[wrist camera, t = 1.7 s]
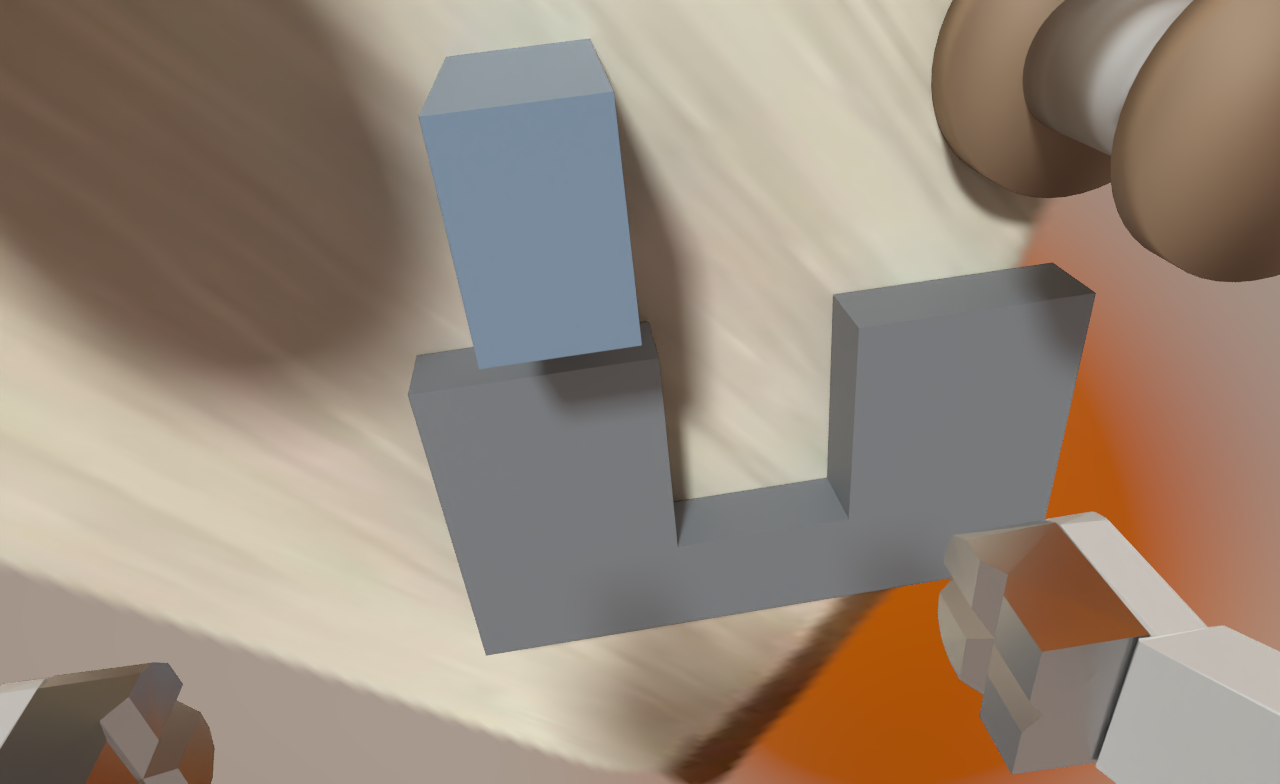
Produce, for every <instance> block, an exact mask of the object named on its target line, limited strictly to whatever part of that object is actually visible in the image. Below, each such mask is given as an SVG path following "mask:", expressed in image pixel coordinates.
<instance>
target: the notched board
mask: <svg viewBox="0 0 1280 784" xmlns="http://www.w3.org/2000/svg"><path fill="white" fill-rule="evenodd" d="M1095 294H1096V293H1095V292H1093V291H1092V290H1091V289H1089V288H1088V287H1086V286H1085V285H1083V284H1082V283H1081V282H1079V281H1078V280H1076V279H1075V278H1073V277H1072V276H1071V275H1069V274H1068V273H1067V272H1065V271H1064V270H1062V269H1061V268H1059V267H1058V266H1057V265H1055V264H1054V263H1047V264H1040V265H1034V266H1027V267H1020V268H1013V269H1006V270H999V271H992V272H986V273H979V274H972V275H965V276H958V277H951V278H945V279H938V280H931V281H924V282H917V283H910V284H904V285H897V286H890V287H883V288H876V289H869V290H862V291H856V292H849V293H842V294H835V295H833V318H832V348H831V379H830V409H829V440H828V470H827V478H823V479H817V480H811V481H804V482H798V483H792V484H786V485H779V486H773V487H767V488H760V489H754V490H748V491H741V492H735V493H729V494H722V495H716V496H710V497H703V498H697V499H691V500H684V501H678V502H673V494H672V484H671V474H670V464H669V454H668V444H667V434H666V424H665V413H664V403H663V393H662V383H661V373H660V363H659V356H658V353H657V349H656V346H655V343H654V339H653V336H652V332H651V329H650V326H649V322H643V323H639V324H640V333H641V342H642V345H641V346H634V347H628V348H621V349H614V350H607V351H600V352H594V353H587V354H580V355H573V356H566V357H560V358H553V359H546V360H539V361H532V362H526V363H519V364H512V365H505V366H498V367H492V368H485V369H479V367H478V363H477V359H476V354H475V350H474V347H472V348H466V349H459V350H452V351H445V352H438V353H431V354H424V355H418V356H417V357H416V362H415V366H414V371H413V375H412V380H411V384H410V389H409V393H408V397H409V400H410V404H411V407H412V410H413V414H414V417H415V420H416V424H417V427H418V430H419V433H420V437H421V440H422V443H423V447H424V450H425V453H426V457H427V460H428V463H429V467H430V470H431V473H432V477H433V480H434V483H435V487H436V490H437V493H438V497H439V500H440V503H441V507H442V510H443V513H444V517H445V520H446V523H447V527H448V530H449V533H450V537H451V540H452V543H453V547H454V550H455V553H456V557H457V560H458V563H459V567H460V570H461V573H462V577H463V580H464V583H465V587H466V590H467V593H468V597H469V600H470V603H471V607H472V610H473V613H474V617H475V620H476V623H477V627H478V630H479V633H480V637H481V640H482V643H483V647H484V650H485V653H486V655H492V654H498V653H504V652H510V651H516V650H522V649H528V648H534V647H540V646H546V645H552V644H558V643H564V642H570V641H576V640H582V639H588V638H595V637H601V636H607V635H613V634H619V633H625V632H631V631H637V630H643V629H649V628H655V627H661V626H667V625H673V624H679V623H685V622H691V621H697V620H703V619H709V618H715V617H721V616H727V615H733V614H739V613H745V612H751V611H757V610H763V609H769V608H775V607H781V606H787V605H793V604H799V603H805V602H811V601H817V600H823V599H829V598H835V597H841V596H847V595H853V594H859V593H865V592H871V591H877V590H883V589H889V588H895V587H901V586H907V585H913V584H920V583H925V582H932V581H938V580H943V579H950V578H953V577H952V575H951V574H950V572H949V570H948V569H947V567H946V565H945V564H944V558H945V551H946V545H947V543H948V542H949V540H950V539H951V537H952V535H956V534H961V533H967V532H973V531H979V530H985V529H991V528H997V527H1003V526H1009V525H1015V524H1021V523H1026V522H1032V521H1038V520H1040V521H1044V520H1045V517H1046V512H1047V508H1048V503H1049V499H1050V494H1051V490H1052V485H1053V481H1054V476H1055V472H1056V468H1057V463H1058V459H1059V454H1060V450H1061V445H1062V441H1063V436H1064V432H1065V427H1066V423H1067V418H1068V414H1069V410H1070V405H1071V401H1072V396H1073V392H1074V387H1075V383H1076V379H1077V374H1078V369H1079V365H1080V361H1081V356H1082V352H1083V347H1084V343H1085V339H1086V334H1087V329H1088V325H1089V321H1090V316H1091V312H1092V307H1093V302H1094V298H1095Z"/></svg>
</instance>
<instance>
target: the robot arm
mask: <svg viewBox="0 0 1280 784" xmlns="http://www.w3.org/2000/svg"><path fill="white" fill-rule="evenodd" d="M944 564H945V565H946V567H947V569H948V570H949V572H950V574H951V575H952V577H953V579H952V580H951V581H950V582H949V583H948V584H947V585H946V586H945V587H944V588H943V590H942V591H941V592H940V594H939V605H938V621H939V627H940V633H941V638H942V642H943V645H944V647H945V650H946V653H947V656H948V658H949V661H950V662H951V664H952V666H953V668H954V670H955V672H956V674H957V676H958V678H959V680H961V681H962V682H964V683H966V684H967V685H969V686H970V687H972V688H973V689H975V690H976V691H978V692H980V693H981V694H983V700H982V706H981V711H980V718H981V720H982V722H983V723H984V725H985V727H986V729H987V731H988V732H989V734H990V736H991V738H992V740H993V741H994V743H995V745H996V746H997V749H998V750H999V752H1000V754H1001V756H1002V758H1003V759H1004V761H1005V763H1006V765H1007V767H1008V768H1009V770H1010V772H1011V774H1019V773H1026V772H1033V771H1039V770H1047V769H1054V768H1061V767H1068V766H1075V765H1081V764H1089V763H1095V762H1097V764H1096V768H1097V769H1099V770H1100V771H1101V772H1102V773H1104V774H1105V775H1106V776H1108V777H1109V778H1110V779H1112V780H1113V781H1114V782H1115V783H1117V784H1280V652H1279V651H1277V650H1275V649H1273V648H1270V647H1268V646H1266V645H1264V644H1262V643H1260V642H1258V641H1256V640H1253V639H1251V638H1249V637H1247V636H1245V635H1243V634H1241V633H1238V632H1236V631H1235V630H1232V629H1230V628H1228V627H1226V626H1224V625H1221V626H1213V627H1207V626H1206V624H1205V623H1204V622H1203V621H1202V620H1201V619H1200V618H1199V617H1198V616H1197V615H1196V614H1195V613H1194V612H1193V610H1192V609H1191V608H1190V607H1189V606H1188V605H1187V604H1186V603H1185V602H1184V601H1183V600H1182V599H1181V598H1180V597H1179V595H1177V593H1176V592H1175V591H1174V590H1173V589H1172V588H1171V587H1170V586H1169V585H1168V584H1167V583H1166V582H1165V581H1164V580H1163V578H1162V577H1161V576H1160V575H1159V574H1158V573H1157V572H1156V571H1155V570H1154V569H1153V568H1152V567H1151V565H1149V563H1148V562H1147V561H1145V559H1144V558H1143V557H1142V556H1141V555H1140V554H1139V553H1138V552H1137V551H1136V549H1135V548H1134V547H1133V546H1132V545H1131V544H1130V543H1129V542H1128V541H1127V540H1126V539H1125V538H1124V537H1123V536H1122V534H1121V533H1120V532H1119V531H1118V530H1117V529H1116V528H1115V527H1114V526H1113V525H1112V524H1111V523H1110V522H1109V520H1108V519H1106V518H1105V517H1104V516H1102V515H1100V514H1098V513H1095V512H1093V511H1092V512H1087V513H1081V514H1075V515H1069V516H1063V517H1057V518H1051V519H1046V520H1044V521H1040V520H1038V521H1032V522H1026V523H1021V524H1015V525H1009V526H1003V527H997V528H991V529H985V530H979V531H973V532H967V533H961V534H956V535H952V537H951V539H950V540H949V542H948V543H947V545H946V551H945V558H944ZM182 685H183V684H182V682H181V681H180V679H179V678H178V676H177V675H176V674H175V673H174V671H173V669H172V668H171V666H170V665H169V664H168V663H147V664H139V665H132V666H124V667H117V668H109V669H102V670H94V671H86V672H79V673H71V674H64V675H57V676H54V677H48V678H41V679H33V680H26V681H19V682H11V683H4V684H2V685H1V686H0V784H211V781H212V777H213V760H214V745H213V740H212V736H211V732H210V728H209V726H208V725H207V723H206V721H205V719H204V718H203V716H202V714H201V713H200V712H199V711H197V710H195V709H193V708H191V707H189V706H187V705H185V704H183V703H181V702H179V701H177V697H178V695H179V693H180V690H181V688H182Z"/></svg>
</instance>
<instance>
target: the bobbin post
mask: <svg viewBox="0 0 1280 784" xmlns="http://www.w3.org/2000/svg"><path fill="white" fill-rule="evenodd" d="M932 97H933V105H934V109H935V114H936V118H937V121H938V124H939V126H940V129H941V131H942V134H943V136H944V137H945V139H946V141H947V142H948V144H949V146H950V147H951V148H952V150H953V151H954V152H955V153H956V154H957V156H958V157H959V158H960V159H961V160H962V161H964V162H965V163H966V164H967V165H968V166H970V167H971V168H973V169H974V170H976V171H977V172H979V173H981V174H982V175H984V176H985V177H987V178H989V179H990V180H992V181H994V182H995V183H997V184H999V185H1000V186H1002V187H1004V188H1005V189H1008V190H1010V191H1013V192H1016V193H1018V194H1022V195H1027V196H1031V197H1041V198H1055V197H1066V196H1071V195H1076V194H1081V193H1084V192H1087V191H1090V190H1093V189H1096V188H1099V187H1101V186H1103V185H1106V184H1108V183H1110V182H1111V185H1112V192H1113V197H1114V201H1115V204H1116V208H1117V211H1118V213H1119V215H1120V217H1121V219H1122V221H1123V223H1124V225H1125V227H1126V228H1127V229H1128V231H1129V232H1130V233H1131V235H1132V236H1133V237H1134V238H1135V239H1136V240H1137V241H1138V242H1139V243H1140V244H1141V245H1142V246H1143V247H1144V248H1146V249H1148V250H1149V251H1151V252H1153V253H1154V254H1156V255H1158V256H1159V257H1161V258H1163V259H1165V260H1166V261H1168V262H1170V263H1172V264H1173V265H1175V266H1177V267H1178V268H1180V269H1182V270H1184V271H1185V272H1187V273H1190V274H1192V275H1195V276H1198V277H1201V278H1204V279H1209V280H1214V281H1224V282H1242V281H1253V280H1259V279H1263V278H1269V277H1273V276H1277V275H1280V0H953V1H952V3H951V5H950V7H949V9H948V11H947V14H946V16H945V19H944V21H943V24H942V27H941V29H940V32H939V36H938V40H937V44H936V48H935V52H934V59H933V66H932Z"/></svg>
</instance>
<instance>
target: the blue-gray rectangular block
mask: <svg viewBox="0 0 1280 784" xmlns="http://www.w3.org/2000/svg"><path fill="white" fill-rule="evenodd" d="M419 120H420V124H421V128H422V133H423V137H424V141H425V145H426V149H427V153H428V158H429V162H430V166H431V170H432V174H433V179H434V183H435V187H436V191H437V195H438V200H439V204H440V208H441V212H442V216H443V220H444V225H445V229H446V233H447V237H448V241H449V246H450V250H451V254H452V258H453V262H454V266H455V271H456V275H457V279H458V283H459V287H460V292H461V296H462V300H463V304H464V308H465V312H466V317H467V321H468V325H469V329H470V333H471V338H472V342H473V346H474V350H475V354H476V359H477V363H478V367H479V369H485V368H492V367H498V366H505V365H512V364H519V363H526V362H532V361H539V360H546V359H553V358H560V357H566V356H573V355H580V354H587V353H594V352H600V351H607V350H614V349H621V348H628V347H634V346H641V345H642V342H641V333H640V324H639V315H638V306H637V297H636V288H635V279H634V270H633V261H632V252H631V243H630V234H629V225H628V216H627V207H626V198H625V189H624V180H623V171H622V162H621V153H620V144H619V135H618V126H617V117H616V108H615V99H614V91H613V89H612V87H611V84H610V82H609V80H608V78H607V75H606V73H605V71H604V69H603V67H602V64H601V62H600V60H599V58H598V56H597V53H596V51H595V49H594V47H593V45H592V42H591V40H590V39H583V40H575V41H567V42H559V43H551V44H544V45H536V46H528V47H520V48H512V49H504V50H496V51H488V52H481V53H473V54H465V55H457V56H449V57H446V58H445V60H444V62H443V65H442V67H441V69H440V71H439V73H438V76H437V78H436V80H435V82H434V84H433V87H432V89H431V91H430V93H429V95H428V98H427V100H426V102H425V104H424V106H423V109H422V111H421V113H420V115H419Z"/></svg>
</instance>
